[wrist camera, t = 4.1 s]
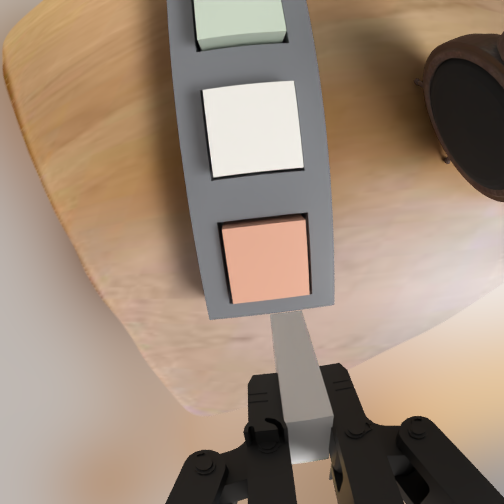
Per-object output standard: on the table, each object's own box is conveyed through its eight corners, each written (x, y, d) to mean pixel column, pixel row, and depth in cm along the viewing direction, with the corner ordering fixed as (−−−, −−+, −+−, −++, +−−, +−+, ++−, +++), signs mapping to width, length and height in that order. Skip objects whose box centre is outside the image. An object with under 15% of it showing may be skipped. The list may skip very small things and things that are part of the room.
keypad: (291, -17, 21) (297, -36, 17) (324, 286, 31) (334, 304, 27) (174, -5, 21) (165, -23, 17) (213, 299, 31) (209, 319, 27)
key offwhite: (287, 88, 22) (293, 80, 19) (296, 165, 24) (303, 167, 21) (207, 96, 22) (202, 89, 19) (216, 174, 24) (213, 177, 21)
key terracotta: (298, 212, 26) (305, 220, 23) (303, 280, 28) (309, 294, 25) (224, 220, 26) (222, 229, 23) (234, 288, 28) (233, 303, 26)
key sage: (271, -16, 19) (274, -32, 16) (281, 43, 21) (286, 31, 18) (196, -9, 19) (191, -24, 16) (202, 51, 21) (197, 39, 18)
